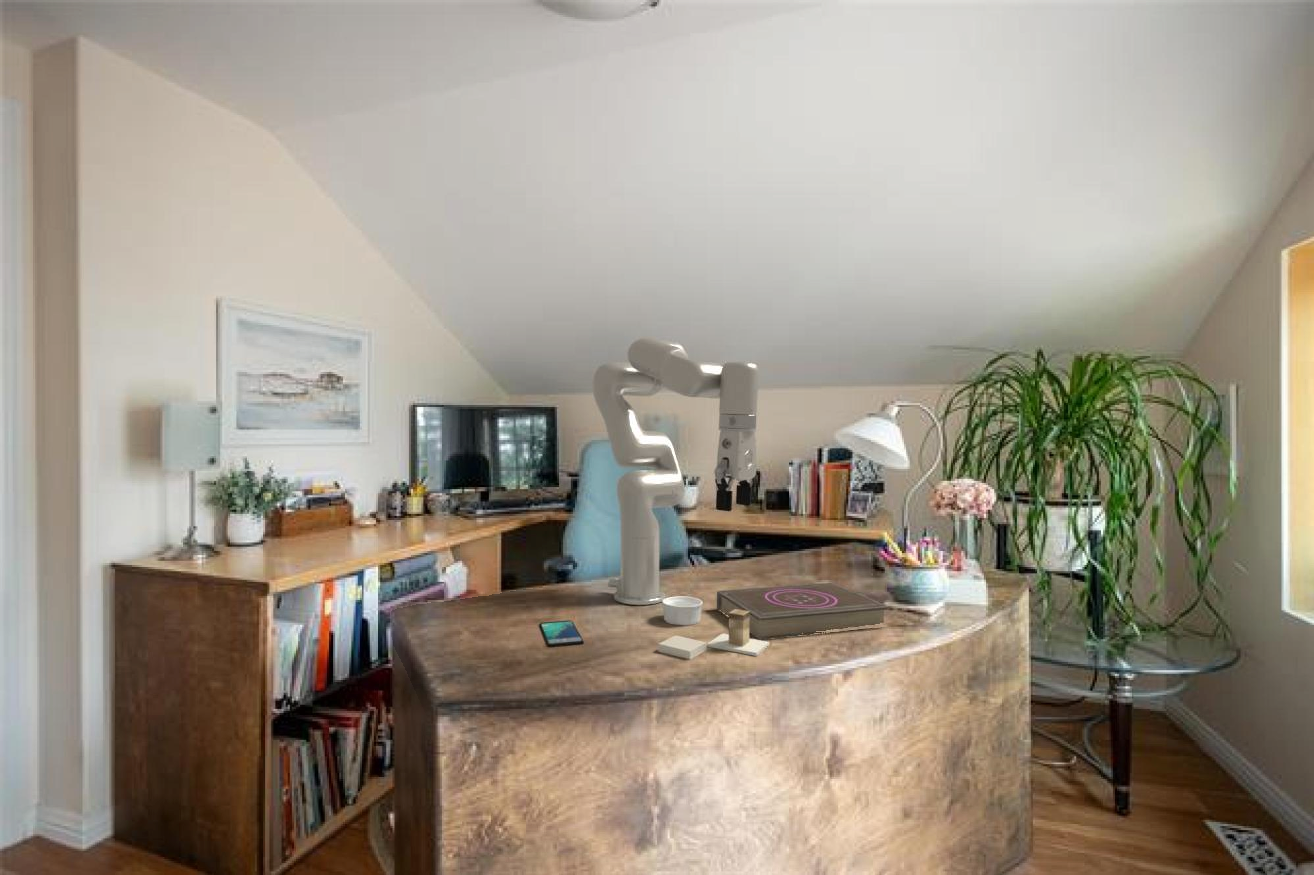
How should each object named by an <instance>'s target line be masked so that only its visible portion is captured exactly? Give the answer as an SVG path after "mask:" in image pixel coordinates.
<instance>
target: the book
mask: <svg viewBox="0 0 1314 875" xmlns="http://www.w3.org/2000/svg"><path fill="white" fill-rule="evenodd" d="M734 609H739V610H745V611H750V617H749V634H750V633H751V634H752V635H751V634H750V635H751V636H753V637H754V636H755V637H756V638H755V637H754V638H755V639H757V638H758V639H759V640H761V641H763V640H762V639H767V640H769V639H768V638H777V639H782V638H781V637H787V636H797V637H799V636H798V635H807V636H811V635H810V634H814V633H822V632H816V631H826V630H831V629H832V630H833V629H843V628H848V627H859V626H865V625H875V624H880V623H884V622H885V619H884V616H885V614H884V613H885V611H886V610H887V611H889V610H890V606H888V605H887V604H884V603H882V602H879V601H877V600H876V599H875V600H874V599H872V598H869V597H868V596H865V595H863V594H860V593H858V592H855V591H853V590H850V589H848V588H846V587H844V586H841V585H838V584H836V583H833V582H825V583H810V584H797V585H796V584H795V585H782V586H769V587H767V586H766V587H757V588H756V587H755V588H740V589H726V590H717V592H716V611H718V610H721V611H720V612H719V613H721V612H724V613H725V615H728V616H729V612H731V611H733V610H734ZM725 615H724V616H725ZM884 624H885V623H884ZM802 633H803V634H802ZM823 633H824V632H823ZM825 633H826V632H825ZM787 638H788V637H787ZM758 639H757V640H758Z"/></svg>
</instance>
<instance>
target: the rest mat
mask: <svg viewBox="0 0 1314 875" xmlns="http://www.w3.org/2000/svg"><path fill="white" fill-rule="evenodd" d="M767 646H768V647H769V646H770V641H767V640H758V639H757V638H750V637H749V643H747V644H746V645H744V646H738V645H733V644H729V633H728V634H727V633H721V634H719V635H718V636H717V637H714V639H712V640H710V641H709V642H708V643H707V647H708V648H713V649H718V650H724V651H729V652H734V653H738V654H744V655H749V656H754V657H757V656H759V655H760V654H761V653H762V652H764V651H765V650H766V649H767V648H768V647H767ZM765 648H766V649H765Z"/></svg>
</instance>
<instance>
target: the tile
mask: <svg viewBox="0 0 1314 875" xmlns="http://www.w3.org/2000/svg"><path fill="white" fill-rule="evenodd" d="M707 647H708V643H707V642H706V641H702V640H698V639H692V638H689V637H683V636H681V635H674V636H671V637H669V638H668V639H665V640H663V641H662V642H659V643H658V648H657V650H658V651H657V652H659V653H662V654H663V653H664V654H667V655H671V656H674V657H675V656H676V657H679V658H683V659H686V660H687V659H688V660H692V659H694V658H695V657H697V656H699V655H700V654H702V653H703V652H706V651H707Z"/></svg>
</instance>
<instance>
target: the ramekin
mask: <svg viewBox="0 0 1314 875" xmlns="http://www.w3.org/2000/svg"><path fill="white" fill-rule="evenodd" d="M661 604H662V606H663V607H662V608H663V620H664V621H665V622H666V623H667V624H670V625H672V626H673V625H674V626H692V625H696V624H698V623H700V621H701V618H702V617H701V616H702V608H703V607H702V606H703V604H704V602H703V600H701V599H699V598H696V597H693V596H684V595H683V596H682V595H680V596H671V597H670V596H669V597H665V599H664V600H663V601H661Z"/></svg>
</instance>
